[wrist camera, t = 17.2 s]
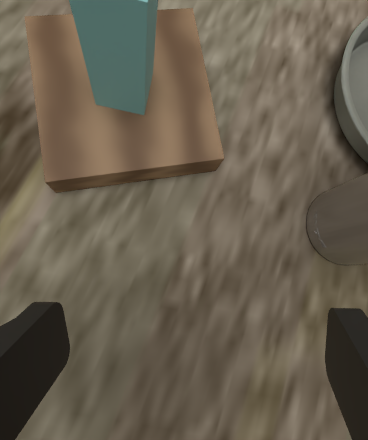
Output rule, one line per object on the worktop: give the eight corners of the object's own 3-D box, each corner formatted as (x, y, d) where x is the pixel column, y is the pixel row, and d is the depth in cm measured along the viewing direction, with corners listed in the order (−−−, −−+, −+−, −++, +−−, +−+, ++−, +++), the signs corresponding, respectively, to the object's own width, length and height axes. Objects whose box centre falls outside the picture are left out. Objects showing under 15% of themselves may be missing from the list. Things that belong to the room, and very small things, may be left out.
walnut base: (187, 34, 40) (192, 8, 36) (215, 170, 37) (224, 158, 34) (36, 43, 37) (24, 16, 33) (55, 192, 34) (45, 182, 31)
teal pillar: (152, 73, 34) (162, -63, 20) (144, 115, 33) (147, 2, 19) (106, 61, 34) (83, -86, 20) (95, 104, 33) (64, -19, 19)
